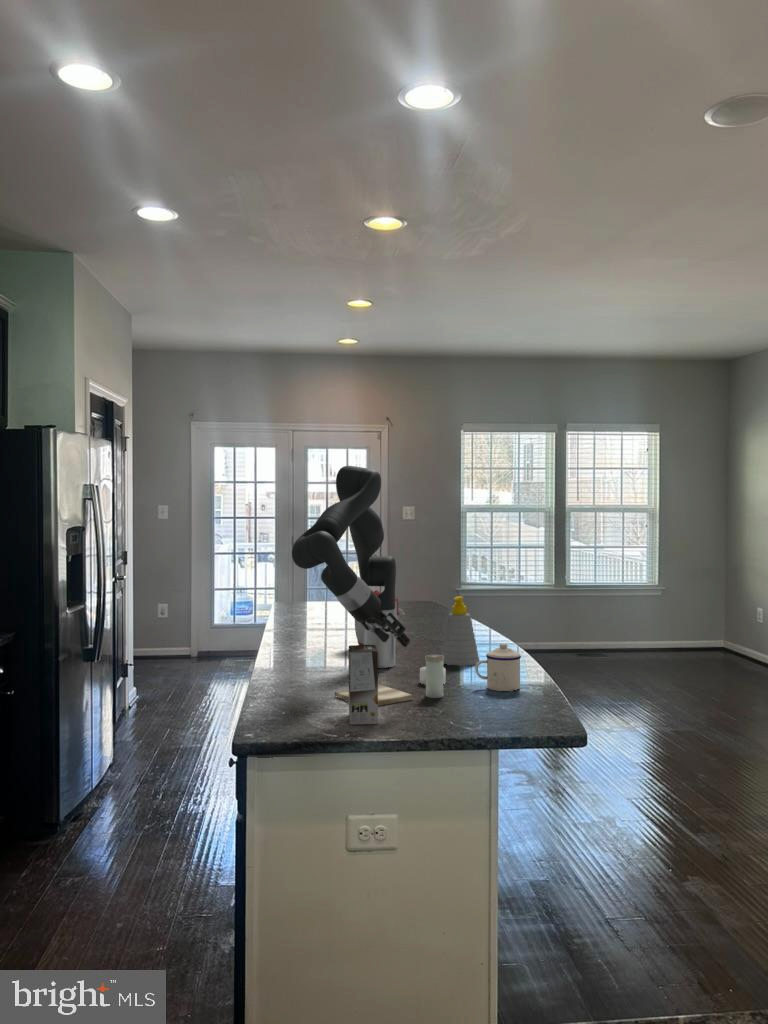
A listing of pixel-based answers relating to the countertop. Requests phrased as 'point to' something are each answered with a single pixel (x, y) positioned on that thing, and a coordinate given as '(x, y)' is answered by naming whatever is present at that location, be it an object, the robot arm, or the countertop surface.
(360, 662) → the coffee box
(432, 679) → the jar
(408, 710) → the countertop surface
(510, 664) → the teacup with lid
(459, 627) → the soap bottle
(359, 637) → the citrus juicer
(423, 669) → the white domed cylinder
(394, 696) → the board
